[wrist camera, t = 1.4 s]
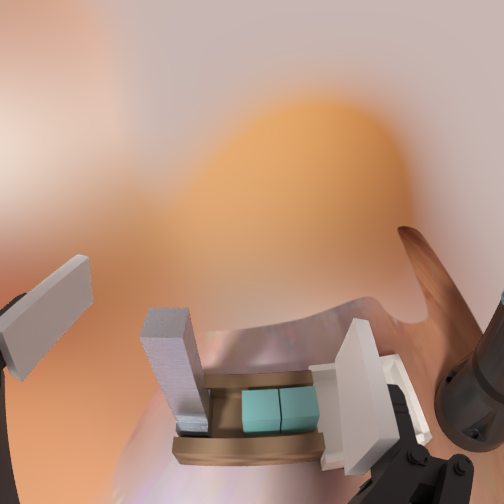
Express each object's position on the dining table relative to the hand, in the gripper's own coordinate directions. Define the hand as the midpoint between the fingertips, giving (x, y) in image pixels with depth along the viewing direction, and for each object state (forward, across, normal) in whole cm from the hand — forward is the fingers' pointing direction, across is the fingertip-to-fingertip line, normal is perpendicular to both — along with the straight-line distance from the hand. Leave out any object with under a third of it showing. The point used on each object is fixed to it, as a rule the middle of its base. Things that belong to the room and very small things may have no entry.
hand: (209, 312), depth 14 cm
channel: (+10, +5, -24) cm, 27 cm away
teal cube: (+11, +10, -22) cm, 26 cm away
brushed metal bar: (+10, -2, -24) cm, 26 cm away
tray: (+13, +19, -21) cm, 31 cm away
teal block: (+11, +6, -22) cm, 25 cm away
